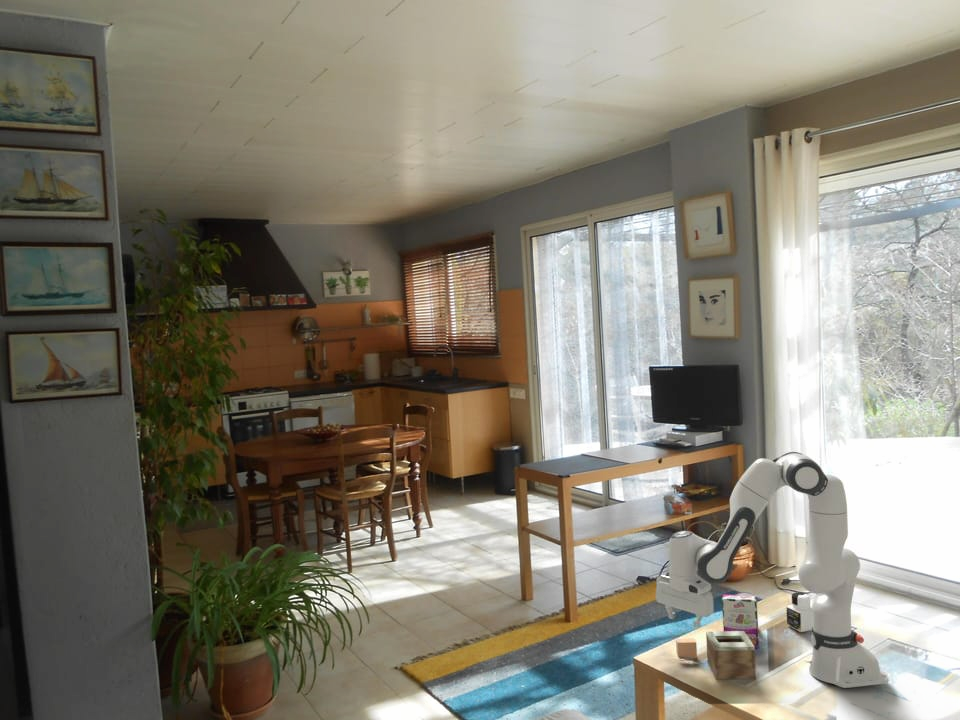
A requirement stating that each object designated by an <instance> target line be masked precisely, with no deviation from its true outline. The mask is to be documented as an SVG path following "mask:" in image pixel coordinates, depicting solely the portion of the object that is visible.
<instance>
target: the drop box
mask: <svg viewBox="0 0 960 720" xmlns="http://www.w3.org/2000/svg"><path fill="white" fill-rule="evenodd" d="M705 632H706V633H705V636H706V639H705V640H706V656H707V657H706V658H707V664H708V666H709V668H710V670H711V673H712V675H713V676H714V678H715V680H754V679H755V680H756V679H757V678H756V677H757V676H756V675H757V674H756V673H757V670H756V651H755V649H756V648H755V647H754V645H753V644H752V642H751V641H750V639H749V638H748V636H747V635H746V633H745V632H744V631H724V630H722V631H721V630H720V631H705Z"/></svg>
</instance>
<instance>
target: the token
mask: <svg viewBox="0 0 960 720" xmlns="http://www.w3.org/2000/svg"><path fill="white" fill-rule="evenodd" d="M675 643H676V644H675V645H676V654H677V656H678V657H679V658H681V657H682V658H690V659H691V658H692V659H698V650H697V649H698V648H697V647H698V646H697V641H696V638H676V639H675Z"/></svg>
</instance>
